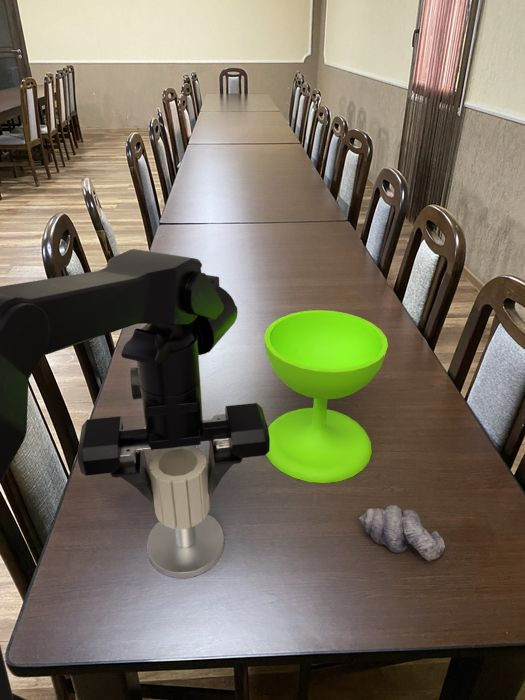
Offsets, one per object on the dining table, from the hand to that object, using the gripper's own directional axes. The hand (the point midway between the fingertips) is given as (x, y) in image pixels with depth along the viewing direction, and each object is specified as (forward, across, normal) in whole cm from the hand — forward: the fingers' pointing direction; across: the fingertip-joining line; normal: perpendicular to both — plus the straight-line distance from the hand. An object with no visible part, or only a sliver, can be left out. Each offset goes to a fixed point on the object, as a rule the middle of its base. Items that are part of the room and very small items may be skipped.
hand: (181, 495), depth 59 cm
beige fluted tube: (+2, 0, 0) cm, 2 cm away
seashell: (+8, -25, +4) cm, 27 cm away
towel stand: (+8, 0, 0) cm, 8 cm away
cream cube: (+8, +4, -19) cm, 21 cm away
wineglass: (+8, -20, -15) cm, 26 cm away
